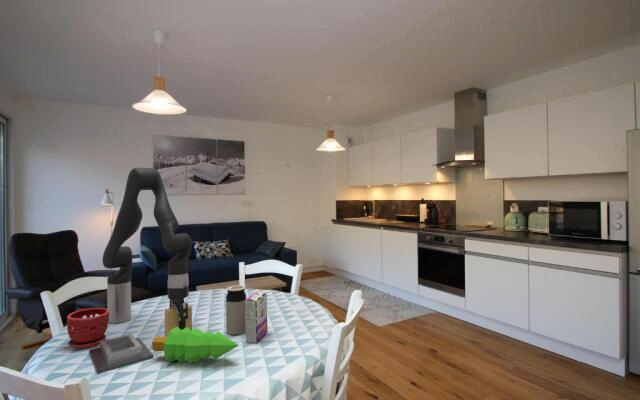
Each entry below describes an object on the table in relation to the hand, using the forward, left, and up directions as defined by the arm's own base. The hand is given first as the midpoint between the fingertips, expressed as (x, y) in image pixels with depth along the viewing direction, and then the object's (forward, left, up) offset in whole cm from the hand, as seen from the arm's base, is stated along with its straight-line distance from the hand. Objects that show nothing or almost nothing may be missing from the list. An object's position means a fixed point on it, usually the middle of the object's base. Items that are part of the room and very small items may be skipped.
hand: (178, 326), depth 130 cm
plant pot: (-18, -27, -5) cm, 33 cm away
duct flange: (+1, -20, -5) cm, 21 cm away
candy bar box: (+20, +23, -5) cm, 31 cm away
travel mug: (+9, +20, -5) cm, 22 cm away
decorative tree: (+24, -2, -5) cm, 24 cm away
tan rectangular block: (0, 0, -5) cm, 5 cm away
